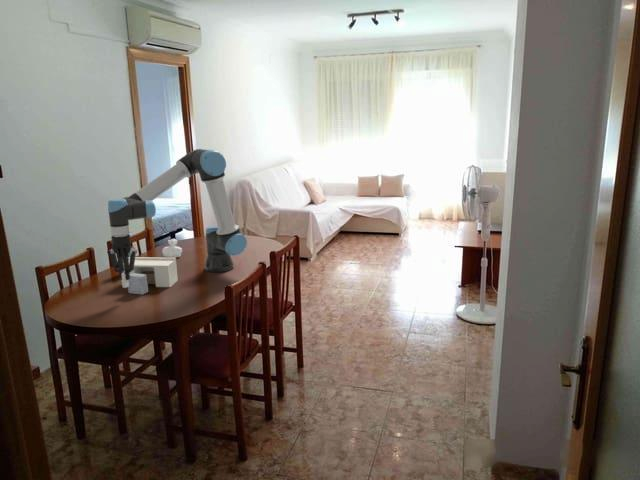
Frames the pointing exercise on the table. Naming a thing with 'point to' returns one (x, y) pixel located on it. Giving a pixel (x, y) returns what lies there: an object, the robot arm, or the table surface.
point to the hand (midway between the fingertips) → (125, 286)
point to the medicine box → (138, 284)
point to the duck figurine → (172, 249)
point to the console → (157, 270)
